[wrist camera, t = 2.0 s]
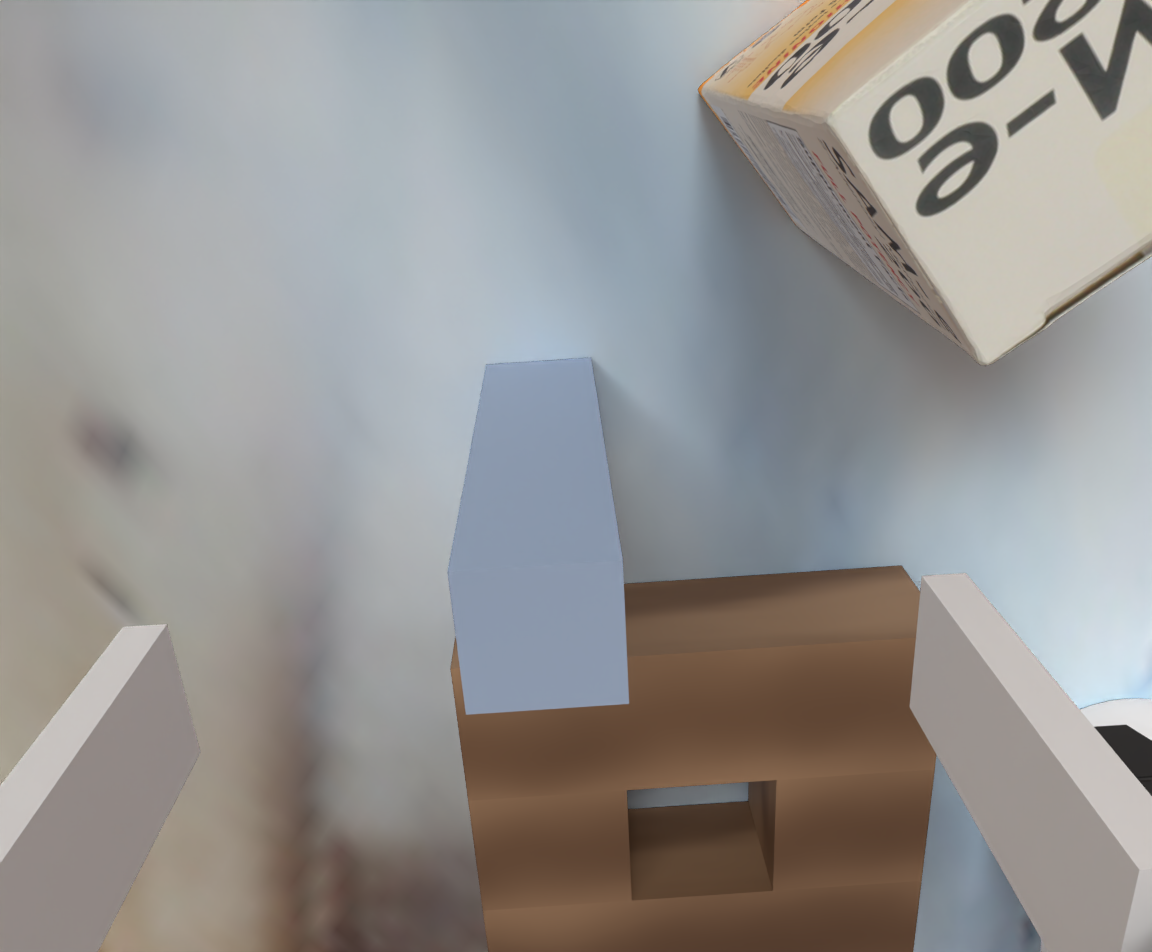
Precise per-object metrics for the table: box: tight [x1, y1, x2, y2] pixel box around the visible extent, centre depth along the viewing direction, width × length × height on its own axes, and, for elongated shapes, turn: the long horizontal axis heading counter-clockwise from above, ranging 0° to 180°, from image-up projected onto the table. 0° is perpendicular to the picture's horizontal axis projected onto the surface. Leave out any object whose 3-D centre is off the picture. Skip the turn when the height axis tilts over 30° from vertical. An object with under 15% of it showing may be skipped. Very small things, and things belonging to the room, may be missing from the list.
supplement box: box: [698, 0, 1152, 366], centre depth 18 cm, size 8×5×13 cm, turn 129°
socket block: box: [451, 566, 936, 952], centre depth 31 cm, size 14×14×4 cm
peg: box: [448, 358, 629, 715], centre depth 22 cm, size 3×3×12 cm
